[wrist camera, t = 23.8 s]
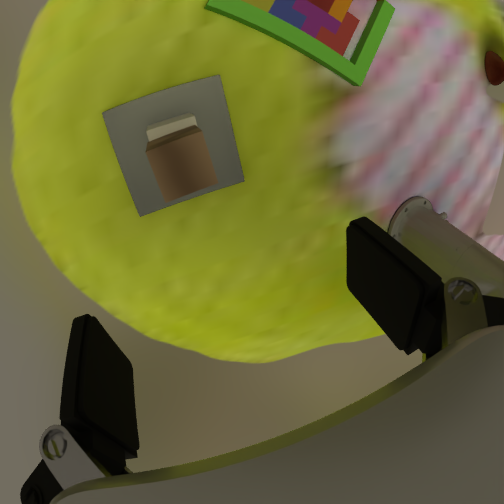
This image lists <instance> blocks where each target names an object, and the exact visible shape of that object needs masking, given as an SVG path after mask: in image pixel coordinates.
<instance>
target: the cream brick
mask: <svg viewBox="0 0 504 504" xmlns="http://www.w3.org/2000/svg"><path fill="white" fill-rule="evenodd" d="M192 125H196V126H197V123H196V119H195V116H194V115H193V114H191V113H186V114H183V115H180V116H176V117H173V118H170V119H167V120H164V121H160V122H157V123H154V124H152V125H149V126H148V127H147V130H146V133H147V136H148V139H149V141H152V140H154V139H157V138H160V137H162V136H165V135H167V134H170V133H173V132H175V131H178V130H181V129H184V128H187V127H189V126H192Z"/></svg>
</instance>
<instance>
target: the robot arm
mask: <svg viewBox="0 0 504 504" xmlns="http://www.w3.org/2000/svg"><path fill="white" fill-rule="evenodd" d="M446 218H447V214H446V213H445V212H443V213H441V214H438V213H436V212H435V211H433V207H432V205H431V203H430V202H429V201H428V200H427V199H425V198H423V197H420V196H418V197H413V198H411V199H409V200H407V201H406V202H405V203H404V204H403V205H402V206H401V207H400V208H399V209H398V211H397V212H396V213H395V215H394V217H393V219H392V221H391V224H390V227H389V231H388V233H387V232H385V231H384V230H383V229H382V228H380V227H379V226H378V225H376V224H375V223H374V222H372V221H371V220H370V219H368V218H367V217H361V218H358V219H355V220H353V221H351V222H350V224H349V226H348V227H347V229H346V239H347V286H348V289H349V290H350V292H351V293H352V294H353V295H354V296H355V298H356V299H357V300H358V301H359V302H360V303H361V305H362V306H363V307H364V308H365V309H366V311H367V312H368V313H369V314H370V315H371V316H372V318H373V319H374V320H375V321H376V322H377V324H378V325H379V326H380V327H381V329H382V330H383V331H384V332H385V333H386V335H387V336H388V337H389V338H390V339H391V341H392V342H393V343H394V344H395V346H396V347H397V348H398V349H399V350H404V351H405V353H406V354H407V355H409V354H411V353H412V352H414V351H415V350H417V349H420V351H421V352H422V353H423V354H422V363H421V364H420V365H418V366H417V367H415V368H413V369H412V370H410V371H409V372H407V373H405V374H404V375H402V376H401V377H399V378H397V379H396V380H394V381H392V382H391V383H389V384H387V385H385V386H384V387H382V388H380V389H379V390H377V391H375V392H373V393H371V394H369V395H368V396H366V397H364V398H362V399H360V400H359V401H356V402H354V403H353V404H350V405H348V406H346V407H345V408H342V409H340V410H338V411H336V412H334V413H332V414H330V415H328V416H325V417H324V418H321V419H319V420H317V421H314V422H312V423H310V424H307V425H305V426H303V427H300V428H298V429H295V430H293V431H290V432H288V433H285V434H283V435H280V436H277V437H275V438H272V439H269V440H266V441H264V442H261V443H258V444H255V445H252V446H249V447H245V448H242V449H239V450H236V451H232V452H229V453H226V454H222V455H218V456H215V457H211V458H207V459H203V460H199V461H195V462H191V463H187V464H182V465H177V466H172V467H167V468H161V469H156V470H150V471H144V472H138V473H133V472H132V471H131V470H130V469H129V468H127V467H126V461H125V459H132V458H137V450H138V449H139V438H138V429H137V420H136V409H135V397H134V384H133V383H134V382H133V368H132V364H131V362H130V361H129V359H128V358H127V357H126V356H125V355H124V353H123V352H122V351H121V350H120V348H119V347H118V346H117V345H116V343H115V342H114V341H113V340H112V338H111V337H110V336H109V334H108V333H107V332H106V331H105V329H104V328H103V326H102V325H101V324H100V323H99V321H98V320H97V318H96V317H94V316H93V317H91V316H90V315H89V314H85V315H83V316H80V317H77V318H75V319H74V320H73V323H72V328H71V333H70V339H69V344H68V350H67V356H66V362H65V369H64V377H63V385H62V395H61V405H60V420H61V425H52V426H50V427H48V428H47V429H46V430H45V431H44V433H43V434H42V436H41V439H40V444H39V448H40V454H41V456H42V458H43V459H42V460H41V462H40V463H39V464H38V466H37V467H36V469H35V470H34V471H33V473H32V474H31V475H30V476H29V478H28V479H27V481H26V482H25V483H24V485H23V487H22V489H21V493H20V496H21V502H22V504H504V261H503V260H501V259H500V258H498V257H497V256H495V255H494V254H493V253H491V252H490V251H488V250H487V249H486V248H484V247H483V246H481V245H480V244H479V243H477V242H476V241H475V240H473V239H472V238H470V237H469V236H468V235H466V234H465V233H463V232H462V231H460V230H459V229H457V228H456V227H455V226H453V225H452V224H450V223H449V222H448V221H447V220H444V219H446Z"/></svg>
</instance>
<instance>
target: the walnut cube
mask: <svg viewBox="0 0 504 504" xmlns="http://www.w3.org/2000/svg"><path fill="white" fill-rule="evenodd" d="M146 155H147V157H148V160H149V163H150V165H151V168H152V170H153V173H154V175H155V178H156V180H157V183H158V185H159V188H160V190H161V193H162V195H163V198H164V200H165V203H167V202H170V201H172V200H175V199H178V198H180V197H183V196H185V195H188V194H191V193H193V192H196V191H198V190H201V189H204V188H207V187H209V186H212V185H215V184H217V183H218V180H217V177H216V174H215V170H214V167H213V164H212V161H211V158H210V155H209V151H208V148H207V145H206V142H205V139H204V135H203V132H202V130H201V129H199V128H198V127H197V126H196V125H192V126H189V127H187V128H184V129H181V130H178V131H175V132H173V133H170V134H167V135H165V136H162V137H160V138H157V139H154V140H152V141H149V142H147V147H146Z"/></svg>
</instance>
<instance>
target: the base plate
mask: <svg viewBox="0 0 504 504" xmlns="http://www.w3.org/2000/svg"><path fill="white" fill-rule="evenodd" d="M186 113H191V114H193V115H194V116H195V119H196V123H197V127H198V128H199V129H201V130H202V132H203V135H204V139H205V142H206V145H207V148H208V151H209V155H210V158H211V161H212V164H213V167H214V170H215V174H216V177H217V180H218V183H217V184H215V185H212V186H209V187H207V188H204V189H201V190H198V191H196V192H193V193H191V194H188V195H185V196H183V197H180V198H178V199H175V200H172V201H170V202H167V203H165V200H164V198H163V195H162V193H161V190H160V188H159V185H158V183H157V180H156V178H155V175H154V173H153V170H152V168H151V165H150V163H149V160H148V157H147V155H146V147H147V142H149V139H148V136H147V133H146V130H147V127H148V126H149V125H152V124H154V123H157V122H160V121H164V120H167V119H170V118H173V117H176V116H180V115H183V114H186ZM102 114H103V118H104V121H105V124H106V127H107V130H108V133H109V136H110V139H111V142H112V145H113V148H114V150H115V153H116V156H117V159H118V162H119V164H120V167H121V170H122V173H123V175H124V178H125V180H126V183H127V186H128V188H129V191H130V193H131V196H132V198H133V201H134V203H135V206H136V208H137V211H138V213H139V216H140V217H141V216H144V215H146V214H149V213H152V212H154V211H157V210H160V209H163V208H165V207H168V206H171V205H174V204H177V203H180V202H182V201H185V200H188V199H191V198H194V197H197V196H200V195H203V194H206V193H209V192H212V191H215V190H218V189H221V188H224V187H228V186H231V185H234V184H237V183H240V182H244V181H245V180H244V176H243V172H242V167H241V163H240V159H239V155H238V150H237V146H236V142H235V137H234V133H233V129H232V124H231V120H230V116H229V112H228V107H227V103H226V99H225V95H224V91H223V86H222V82H221V78H220V75H216V76H212V77H208V78H204V79H200V80H196V81H192V82H189V83H185V84H182V85H178V86H175V87H171V88H168V89H165V90H162V91H159V92H156V93H153V94H150V95H147V96H144V97H141V98H138V99H136V100H133V101H130V102H128V103H125V104H122V105H120V106H117V107H115V108H112V109H110V110H108V111H105V112H103V113H102Z"/></svg>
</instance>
